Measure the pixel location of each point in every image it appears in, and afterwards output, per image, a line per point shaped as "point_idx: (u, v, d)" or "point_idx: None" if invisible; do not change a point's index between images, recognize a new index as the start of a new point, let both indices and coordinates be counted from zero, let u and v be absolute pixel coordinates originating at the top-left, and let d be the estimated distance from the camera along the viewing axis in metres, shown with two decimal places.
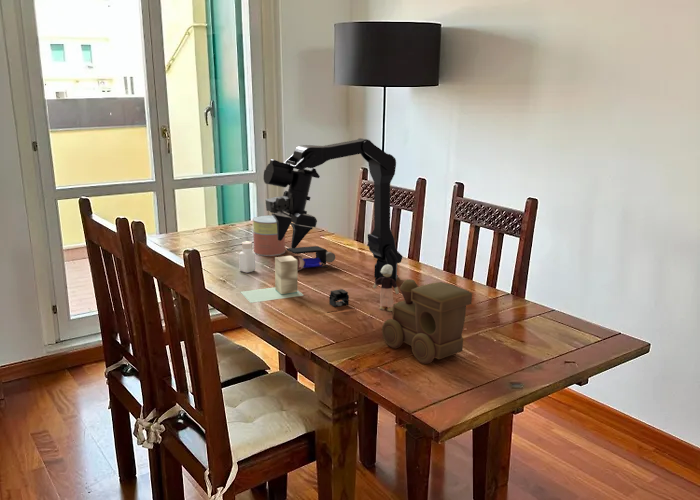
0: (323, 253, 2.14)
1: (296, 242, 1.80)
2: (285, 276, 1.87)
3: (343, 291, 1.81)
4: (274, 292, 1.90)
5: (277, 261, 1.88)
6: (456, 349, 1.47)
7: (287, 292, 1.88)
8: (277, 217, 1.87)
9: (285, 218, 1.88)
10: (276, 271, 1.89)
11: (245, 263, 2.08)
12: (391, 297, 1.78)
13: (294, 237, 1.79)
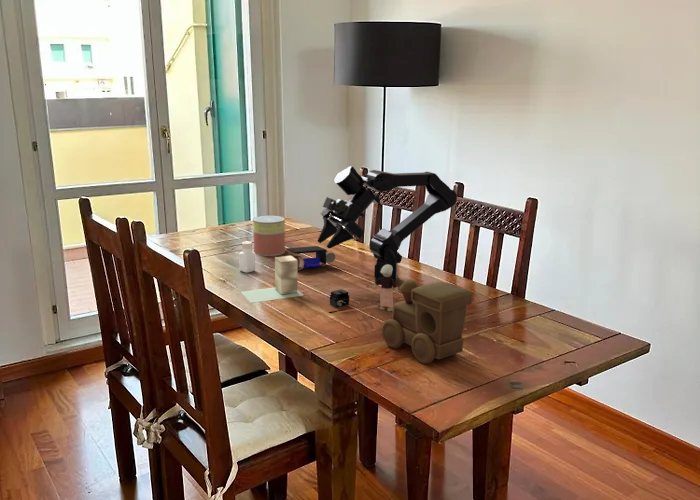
0: (323, 253, 2.14)
1: (333, 243, 1.89)
2: (285, 276, 1.87)
3: (343, 291, 1.81)
4: (274, 292, 1.90)
5: (277, 261, 1.88)
6: (456, 349, 1.47)
7: (287, 292, 1.88)
8: (327, 221, 1.95)
9: (333, 226, 1.97)
10: (276, 271, 1.89)
11: (245, 263, 2.08)
12: (391, 297, 1.78)
13: (334, 238, 1.89)
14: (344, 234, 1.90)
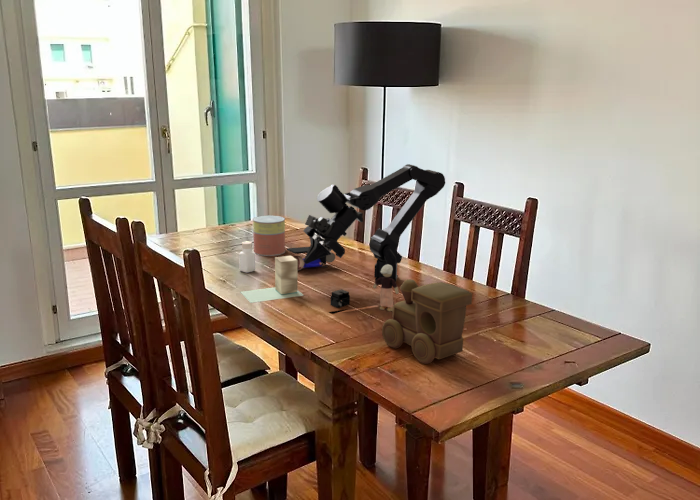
0: None
1: (310, 259, 1.91)
2: (285, 276, 1.87)
3: (344, 291, 1.81)
4: (274, 292, 1.90)
5: (277, 261, 1.88)
6: (456, 349, 1.47)
7: (287, 292, 1.88)
8: (313, 241, 1.92)
9: None
10: (276, 271, 1.89)
11: (245, 263, 2.08)
12: (391, 297, 1.78)
13: (311, 253, 1.90)
14: (321, 250, 1.91)
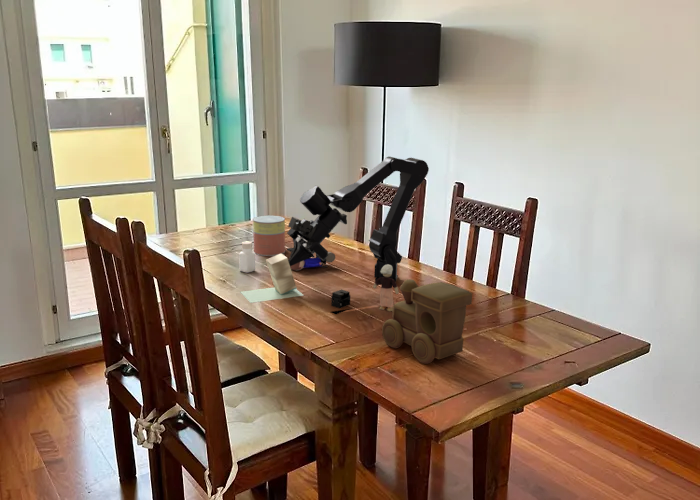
0: None
1: (293, 262, 1.89)
2: (279, 276, 1.86)
3: (344, 291, 1.80)
4: (274, 292, 1.90)
5: (268, 263, 1.87)
6: (456, 349, 1.47)
7: (286, 290, 1.88)
8: (297, 243, 1.89)
9: None
10: (271, 272, 1.88)
11: (245, 263, 2.08)
12: (391, 297, 1.78)
13: (294, 256, 1.88)
14: (304, 252, 1.89)
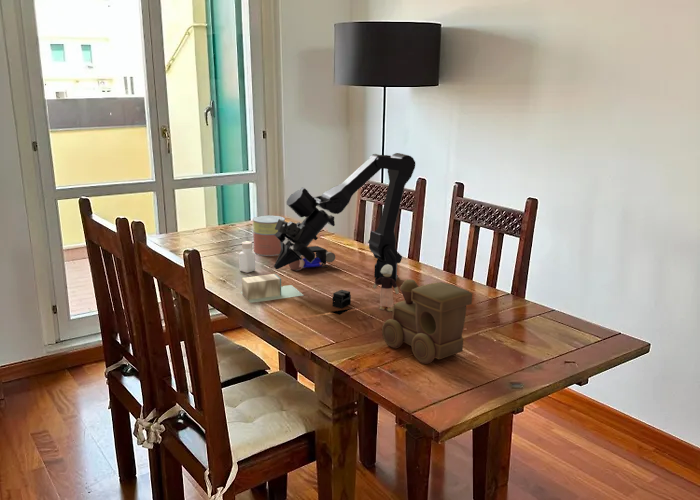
0: (323, 253, 2.14)
1: (281, 264, 1.87)
2: (262, 293, 1.85)
3: (345, 291, 1.80)
4: None
5: None
6: (456, 349, 1.47)
7: (279, 289, 1.87)
8: (284, 246, 1.88)
9: None
10: None
11: (245, 263, 2.08)
12: (391, 297, 1.78)
13: (281, 259, 1.86)
14: (292, 255, 1.87)
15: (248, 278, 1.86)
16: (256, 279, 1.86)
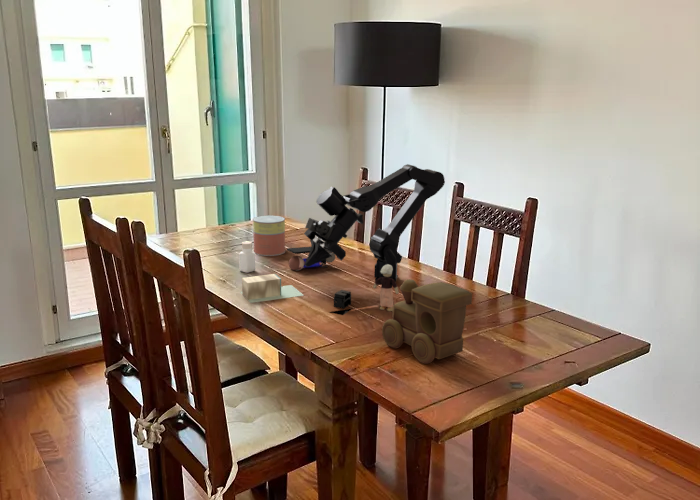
0: None
1: (311, 262, 1.91)
2: (262, 293, 1.85)
3: (346, 291, 1.80)
4: None
5: None
6: (456, 349, 1.47)
7: (279, 289, 1.87)
8: (314, 244, 1.92)
9: None
10: None
11: (245, 263, 2.08)
12: (391, 297, 1.78)
13: (312, 256, 1.91)
14: (322, 252, 1.92)
15: (248, 278, 1.86)
16: (256, 279, 1.86)
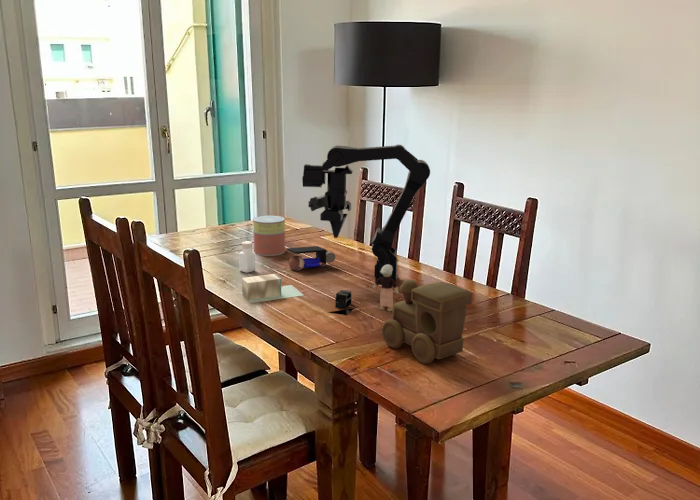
0: (323, 253, 2.14)
1: (336, 232, 2.02)
2: (262, 293, 1.85)
3: (346, 291, 1.80)
4: None
5: None
6: (456, 349, 1.47)
7: (279, 289, 1.87)
8: None
9: None
10: None
11: (245, 263, 2.08)
12: (391, 297, 1.78)
13: (332, 228, 2.01)
14: None
15: (248, 278, 1.86)
16: (256, 279, 1.86)
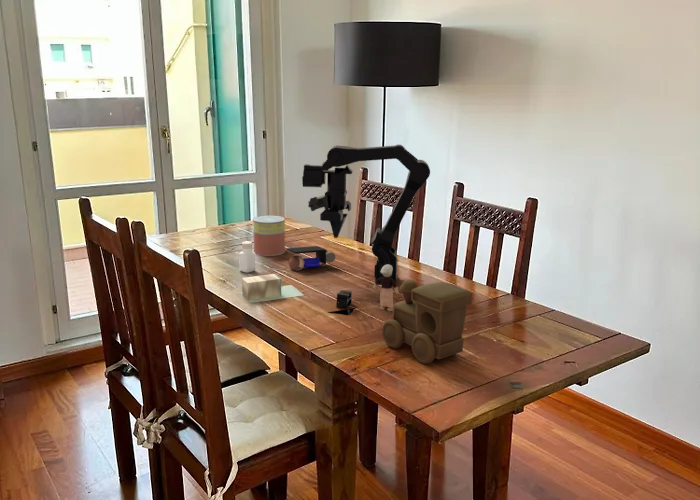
0: (323, 253, 2.14)
1: (336, 232, 2.02)
2: (262, 293, 1.85)
3: (347, 291, 1.80)
4: None
5: None
6: (456, 349, 1.47)
7: (279, 289, 1.87)
8: None
9: None
10: None
11: (245, 263, 2.08)
12: (391, 297, 1.78)
13: (332, 228, 2.01)
14: None
15: (248, 278, 1.86)
16: (256, 279, 1.86)
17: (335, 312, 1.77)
